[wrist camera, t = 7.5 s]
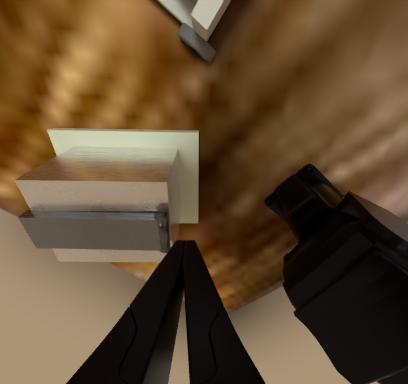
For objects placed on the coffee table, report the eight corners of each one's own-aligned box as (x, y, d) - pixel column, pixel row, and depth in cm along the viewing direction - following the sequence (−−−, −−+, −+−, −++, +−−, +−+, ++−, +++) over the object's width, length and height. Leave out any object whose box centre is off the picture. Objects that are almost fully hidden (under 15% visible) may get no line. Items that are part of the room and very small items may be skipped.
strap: (168, 210, 14) (166, 218, 13) (171, 244, 16) (169, 253, 15) (26, 207, 14) (16, 215, 13) (45, 241, 16) (37, 250, 15)
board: (198, 130, 19) (198, 132, 18) (198, 219, 25) (198, 223, 24) (52, 127, 19) (47, 130, 18) (86, 218, 24) (83, 222, 24)
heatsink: (177, 148, 19) (166, 182, 13) (181, 213, 23) (173, 262, 17) (65, 146, 19) (2, 179, 13) (89, 212, 23) (49, 261, 17)
